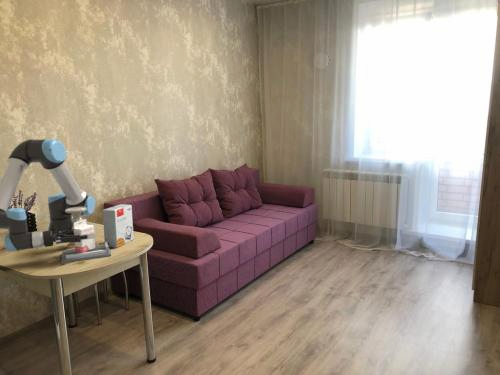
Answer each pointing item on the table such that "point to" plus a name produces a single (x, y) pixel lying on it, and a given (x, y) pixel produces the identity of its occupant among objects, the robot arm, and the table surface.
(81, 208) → the candle holder
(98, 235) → the table surface
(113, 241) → the hard drive box
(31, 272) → the table surface
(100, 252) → the rail cradle
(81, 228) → the ink cartridge box
